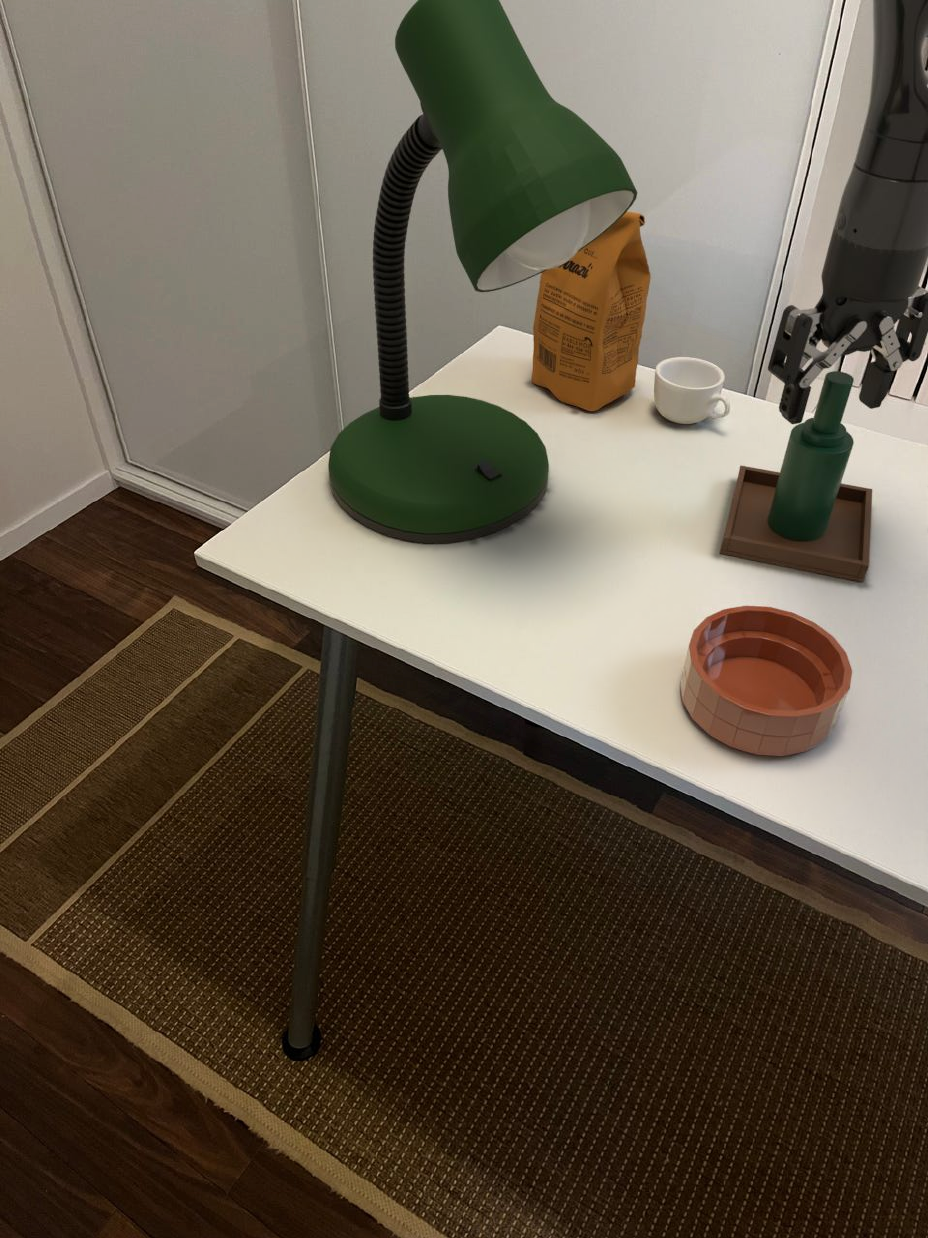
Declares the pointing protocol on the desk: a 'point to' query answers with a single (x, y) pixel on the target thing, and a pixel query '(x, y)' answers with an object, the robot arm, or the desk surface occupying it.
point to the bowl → (765, 680)
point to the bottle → (813, 466)
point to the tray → (828, 555)
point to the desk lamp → (470, 270)
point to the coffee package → (593, 318)
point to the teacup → (688, 390)
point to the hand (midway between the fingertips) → (830, 411)
